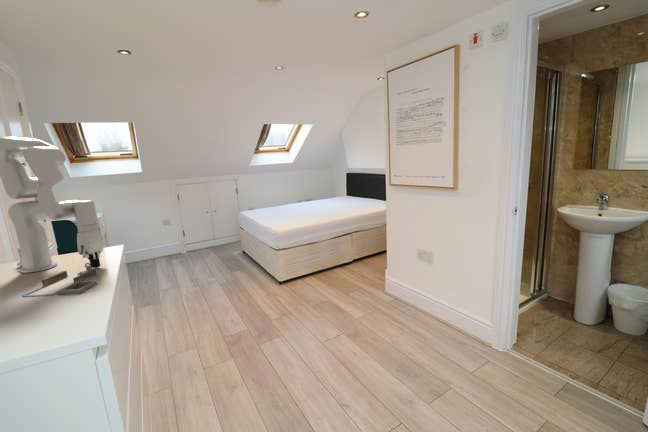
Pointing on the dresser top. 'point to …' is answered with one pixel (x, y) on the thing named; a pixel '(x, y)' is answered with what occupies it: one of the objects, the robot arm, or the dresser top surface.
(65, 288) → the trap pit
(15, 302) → the dresser top surface
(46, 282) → the walled tunnel
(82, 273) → the strap clip
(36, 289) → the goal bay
